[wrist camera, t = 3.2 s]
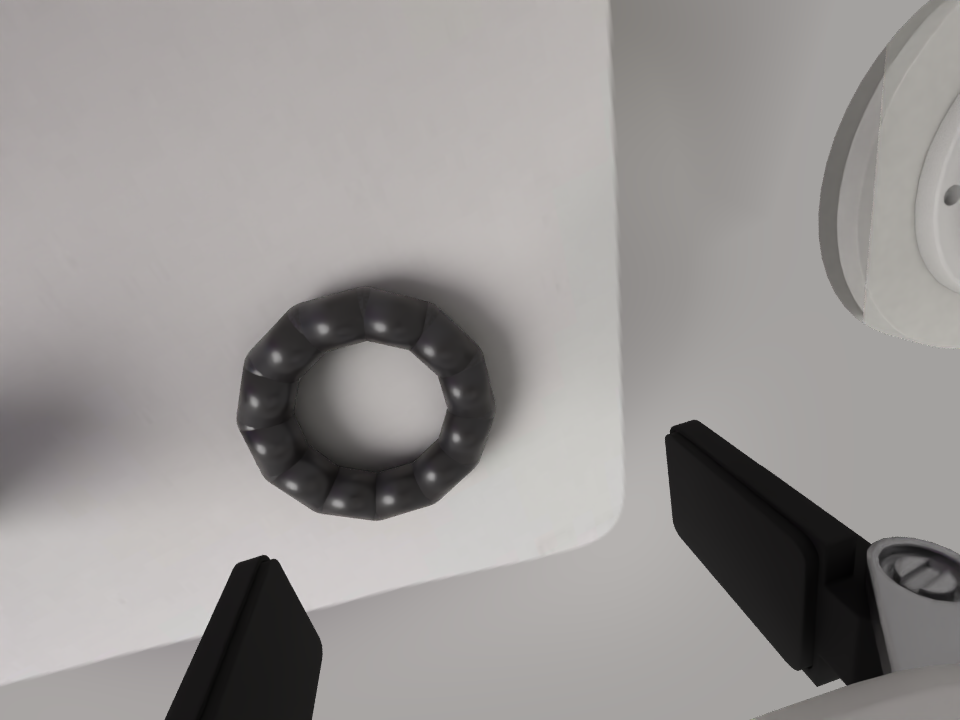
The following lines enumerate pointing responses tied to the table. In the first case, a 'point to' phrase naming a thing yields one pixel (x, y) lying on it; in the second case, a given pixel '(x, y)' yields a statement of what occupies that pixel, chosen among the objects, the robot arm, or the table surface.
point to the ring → (344, 324)
